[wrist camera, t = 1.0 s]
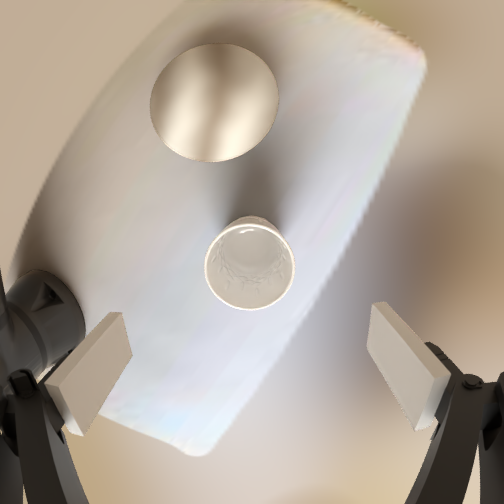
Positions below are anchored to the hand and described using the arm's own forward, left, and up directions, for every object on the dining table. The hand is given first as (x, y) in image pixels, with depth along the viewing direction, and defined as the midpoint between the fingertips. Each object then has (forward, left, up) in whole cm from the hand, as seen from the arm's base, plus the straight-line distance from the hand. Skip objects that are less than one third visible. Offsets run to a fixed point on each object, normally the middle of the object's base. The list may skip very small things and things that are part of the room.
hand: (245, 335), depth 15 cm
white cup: (0, 0, -22) cm, 22 cm away
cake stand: (-3, +16, -21) cm, 27 cm away
